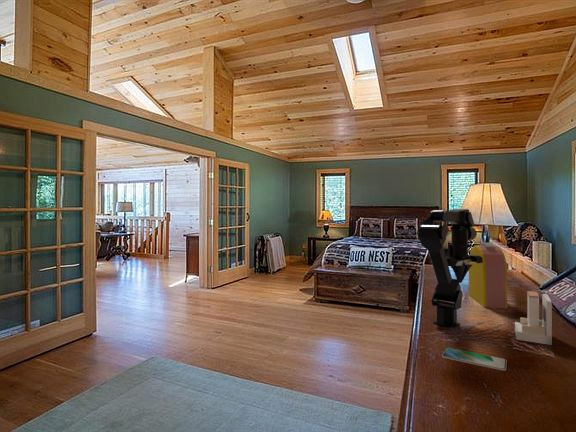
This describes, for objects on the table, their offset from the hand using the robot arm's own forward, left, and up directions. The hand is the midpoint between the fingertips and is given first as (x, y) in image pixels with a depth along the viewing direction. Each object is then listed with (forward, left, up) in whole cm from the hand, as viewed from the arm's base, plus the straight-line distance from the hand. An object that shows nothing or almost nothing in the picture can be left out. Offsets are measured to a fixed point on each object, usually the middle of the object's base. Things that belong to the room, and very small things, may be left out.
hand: (459, 282), depth 131 cm
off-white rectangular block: (+2, -25, -10) cm, 27 cm away
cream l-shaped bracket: (+2, -25, -13) cm, 28 cm away
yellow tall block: (+30, +10, -13) cm, 34 cm away
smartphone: (-30, -28, -14) cm, 43 cm away
